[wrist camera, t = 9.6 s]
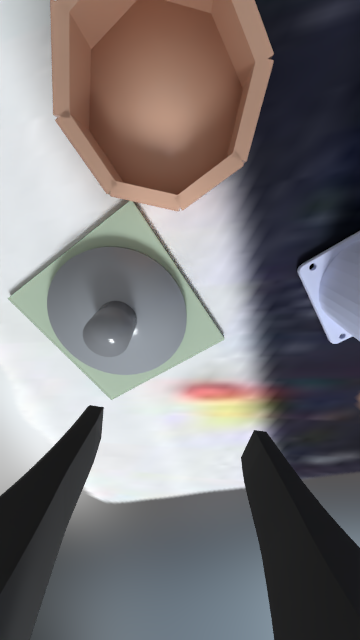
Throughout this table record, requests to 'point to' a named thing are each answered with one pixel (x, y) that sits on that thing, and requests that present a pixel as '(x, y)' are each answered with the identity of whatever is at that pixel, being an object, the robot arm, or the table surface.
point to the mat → (138, 235)
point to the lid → (117, 310)
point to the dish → (159, 92)
